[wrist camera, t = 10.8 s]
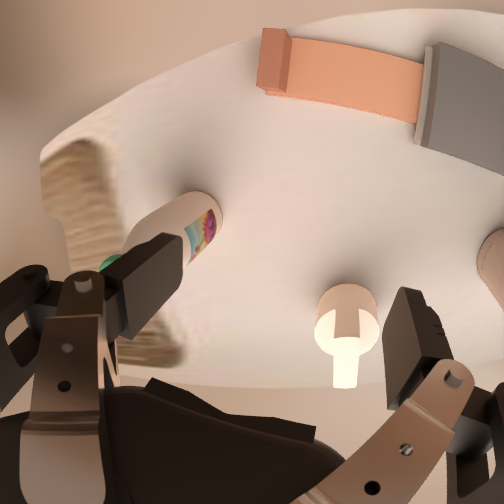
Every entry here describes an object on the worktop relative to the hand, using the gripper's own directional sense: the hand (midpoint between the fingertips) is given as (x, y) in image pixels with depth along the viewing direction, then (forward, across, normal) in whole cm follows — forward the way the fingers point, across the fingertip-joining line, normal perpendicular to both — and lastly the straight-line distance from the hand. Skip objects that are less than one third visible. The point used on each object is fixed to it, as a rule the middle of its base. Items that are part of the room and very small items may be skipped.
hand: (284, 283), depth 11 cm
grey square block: (+30, -17, -12) cm, 36 cm away
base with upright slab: (+30, -8, +20) cm, 37 cm away
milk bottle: (+30, +16, +10) cm, 35 cm away
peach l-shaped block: (+29, -2, -12) cm, 32 cm away
